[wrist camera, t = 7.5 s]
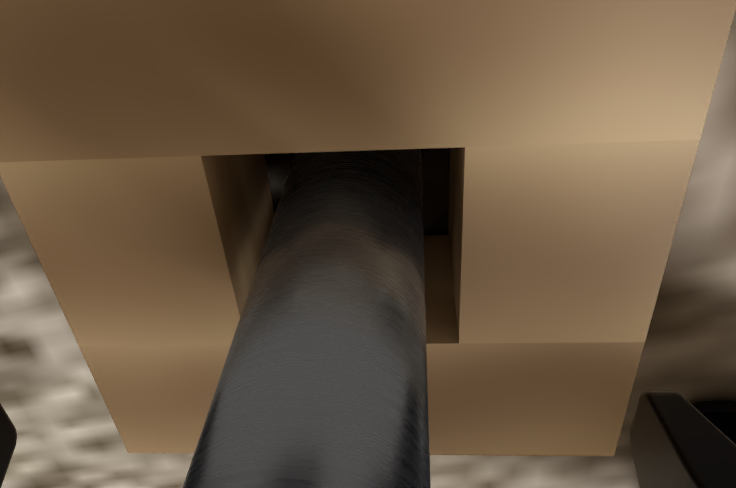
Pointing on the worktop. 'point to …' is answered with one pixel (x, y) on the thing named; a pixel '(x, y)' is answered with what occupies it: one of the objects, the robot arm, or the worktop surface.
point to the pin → (329, 337)
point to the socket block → (360, 133)
